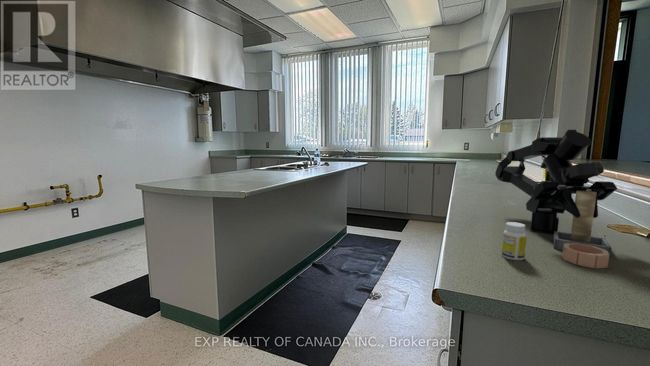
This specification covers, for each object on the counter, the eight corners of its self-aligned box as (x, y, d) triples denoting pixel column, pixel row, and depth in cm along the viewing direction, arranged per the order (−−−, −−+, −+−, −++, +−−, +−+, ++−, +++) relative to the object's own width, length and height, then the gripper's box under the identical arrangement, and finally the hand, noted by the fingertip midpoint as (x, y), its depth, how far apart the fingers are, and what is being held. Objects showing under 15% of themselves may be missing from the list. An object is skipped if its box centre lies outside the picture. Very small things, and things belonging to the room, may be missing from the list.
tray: (554, 248, 79) (555, 239, 79) (553, 239, 86) (554, 230, 86) (610, 257, 73) (611, 247, 72) (604, 247, 80) (605, 238, 80)
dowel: (573, 241, 78) (579, 192, 76) (568, 236, 82) (573, 190, 80) (592, 242, 77) (599, 193, 75) (586, 238, 80) (592, 191, 79)
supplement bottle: (521, 254, 75) (524, 222, 74) (527, 261, 70) (530, 227, 69) (499, 252, 76) (502, 220, 75) (504, 259, 72) (507, 225, 71)
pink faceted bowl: (563, 262, 70) (564, 250, 70) (561, 252, 76) (563, 241, 76) (609, 271, 65) (611, 258, 65) (603, 259, 72) (605, 247, 71)
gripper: (543, 151, 81) (568, 199, 71) (616, 151, 79) (651, 200, 70) (523, 176, 89) (543, 222, 80) (588, 177, 88) (616, 223, 79)
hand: (587, 217), depth 77 cm, fingers closed on dowel, 4 cm apart
